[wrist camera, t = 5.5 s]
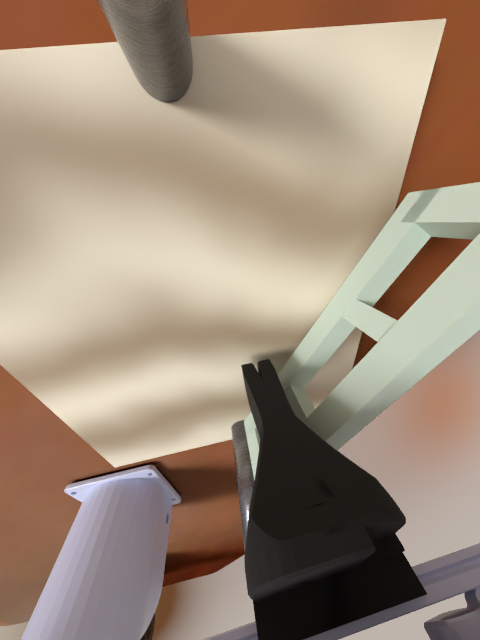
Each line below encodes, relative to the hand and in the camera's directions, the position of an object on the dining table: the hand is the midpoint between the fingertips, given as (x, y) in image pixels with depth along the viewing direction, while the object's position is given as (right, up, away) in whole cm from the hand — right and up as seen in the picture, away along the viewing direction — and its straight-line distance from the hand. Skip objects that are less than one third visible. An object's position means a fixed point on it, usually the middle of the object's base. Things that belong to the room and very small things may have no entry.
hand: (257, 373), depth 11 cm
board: (-3, +2, 0) cm, 4 cm away
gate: (+3, +2, 0) cm, 4 cm away
